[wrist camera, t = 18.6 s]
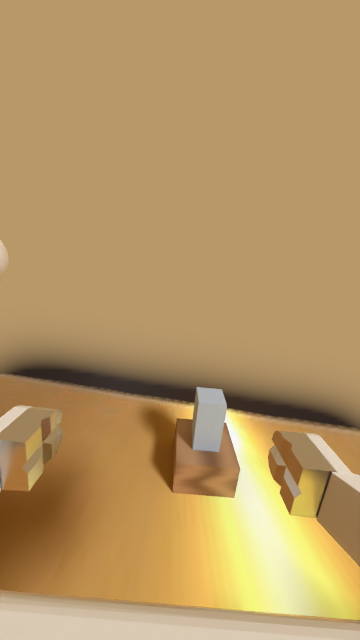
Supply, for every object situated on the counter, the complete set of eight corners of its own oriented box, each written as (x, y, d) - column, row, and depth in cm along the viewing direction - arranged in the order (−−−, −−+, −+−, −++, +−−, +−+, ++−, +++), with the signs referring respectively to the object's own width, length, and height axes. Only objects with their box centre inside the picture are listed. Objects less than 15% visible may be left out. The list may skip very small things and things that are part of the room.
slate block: (192, 449, 34) (198, 402, 32) (191, 429, 38) (196, 387, 36) (219, 452, 34) (226, 405, 32) (214, 431, 38) (221, 389, 36)
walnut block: (172, 493, 32) (176, 463, 31) (174, 443, 42) (177, 418, 41) (233, 498, 33) (239, 468, 31) (221, 447, 42) (225, 422, 41)
